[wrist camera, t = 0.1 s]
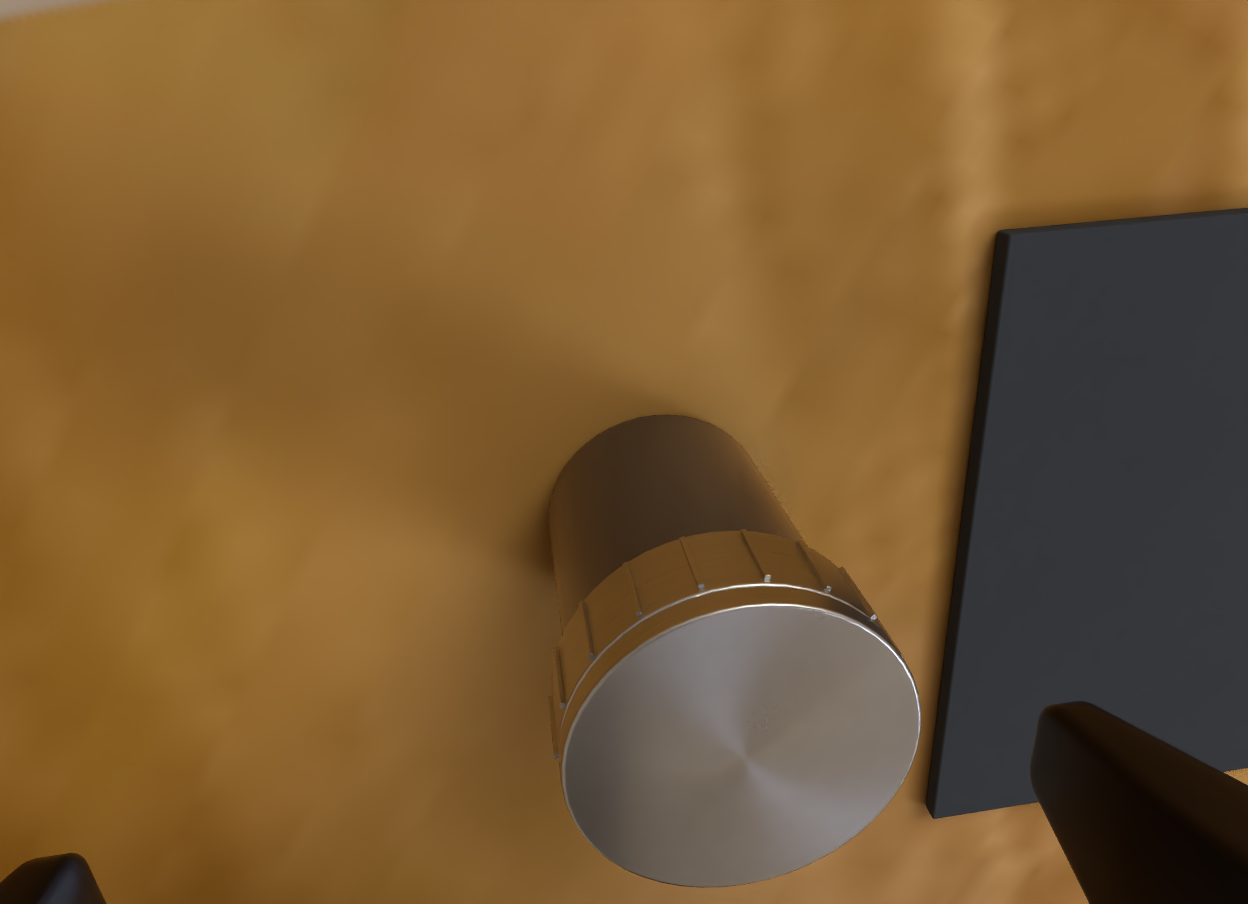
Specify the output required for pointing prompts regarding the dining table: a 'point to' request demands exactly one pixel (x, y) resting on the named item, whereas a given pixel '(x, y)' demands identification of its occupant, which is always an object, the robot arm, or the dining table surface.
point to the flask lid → (728, 711)
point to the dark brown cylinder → (651, 498)
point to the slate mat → (1103, 501)
